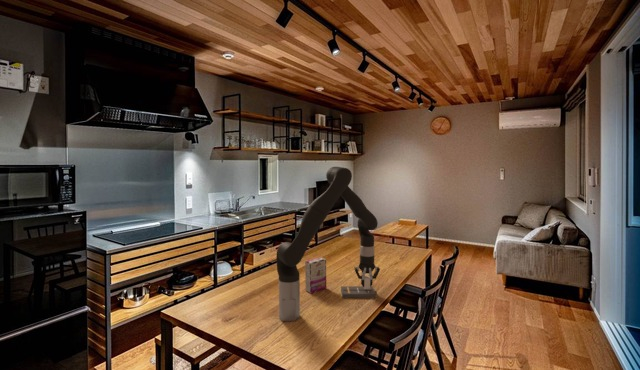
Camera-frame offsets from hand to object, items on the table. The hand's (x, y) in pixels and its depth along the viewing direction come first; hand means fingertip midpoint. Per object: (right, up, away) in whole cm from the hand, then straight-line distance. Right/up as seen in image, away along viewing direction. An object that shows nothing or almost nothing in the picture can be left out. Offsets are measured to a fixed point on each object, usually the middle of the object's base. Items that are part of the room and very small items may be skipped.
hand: (366, 286), depth 173 cm
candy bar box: (-27, -4, +6) cm, 28 cm away
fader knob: (0, -2, 0) cm, 2 cm away
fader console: (-5, -4, 0) cm, 6 cm away
